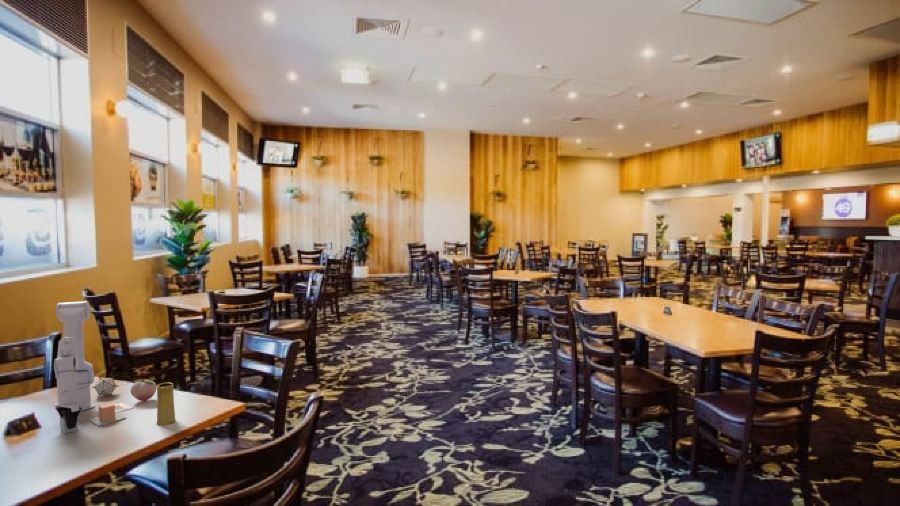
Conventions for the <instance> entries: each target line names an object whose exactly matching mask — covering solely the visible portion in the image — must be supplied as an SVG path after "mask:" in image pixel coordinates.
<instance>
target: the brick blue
mask: <svg viewBox="0 0 900 506" xmlns="http://www.w3.org/2000/svg"><path fill="white" fill-rule="evenodd" d="M78 419H79V417H78V418H77V423H76V427H75V428H72V429H68V428H67V425H66V420H65V418H64V416H63V417H60V416H59V423H60V432H61V433H63V434H69V433H73V432H76V431H79V420H78Z"/></svg>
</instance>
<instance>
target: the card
mask: <svg viewBox="0 0 900 506" xmlns="http://www.w3.org/2000/svg"><path fill="white" fill-rule="evenodd" d="M113 404H114V403H113ZM114 405H115V412H117V413H122V412H124V411H128V410H131V409H133V407H132V406H130V405H128V404H126V403H124V402H119V403H115V404H114Z"/></svg>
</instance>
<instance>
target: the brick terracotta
mask: <svg viewBox="0 0 900 506" xmlns="http://www.w3.org/2000/svg"><path fill="white" fill-rule="evenodd" d="M98 417H99V419H100V420H101V421H107V420H111V419H114V418H115V405H114V403H111V402H109V403H108V402H107V403H106V404H101V405H98Z"/></svg>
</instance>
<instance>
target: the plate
mask: <svg viewBox="0 0 900 506" xmlns="http://www.w3.org/2000/svg"><path fill="white" fill-rule="evenodd" d="M126 419H127V417H126V416H124V415H122V414H120V412H118V413H117V412H115V418H114V419H111V420H107V421H101V420H100V419H99V416H97V417H94V418H89V422H90V423H91V424H94V425H96V426H97V427H102V426H105V425H109V424H112V423H116V422H119V421H120V422H121V421H123V420H126Z"/></svg>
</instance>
